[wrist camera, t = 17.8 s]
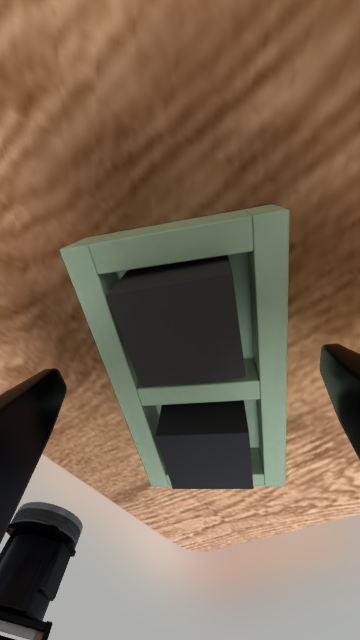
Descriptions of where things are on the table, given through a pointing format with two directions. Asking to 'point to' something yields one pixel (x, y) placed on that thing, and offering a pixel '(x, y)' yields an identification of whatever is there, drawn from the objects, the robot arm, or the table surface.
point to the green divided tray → (253, 314)
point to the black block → (180, 322)
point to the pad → (206, 445)
